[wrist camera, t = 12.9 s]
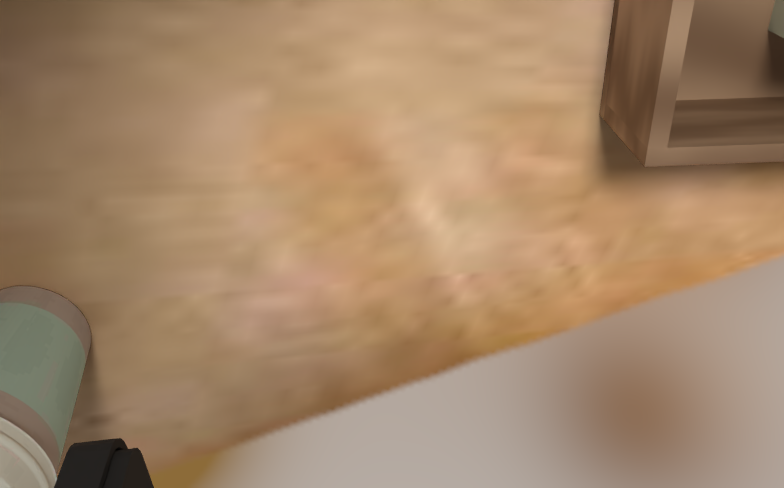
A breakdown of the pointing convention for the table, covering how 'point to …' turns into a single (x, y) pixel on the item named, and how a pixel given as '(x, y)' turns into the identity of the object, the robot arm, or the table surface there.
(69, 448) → the robot arm
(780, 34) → the sage crate
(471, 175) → the table surface
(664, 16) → the walnut crate
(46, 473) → the coffee cup
